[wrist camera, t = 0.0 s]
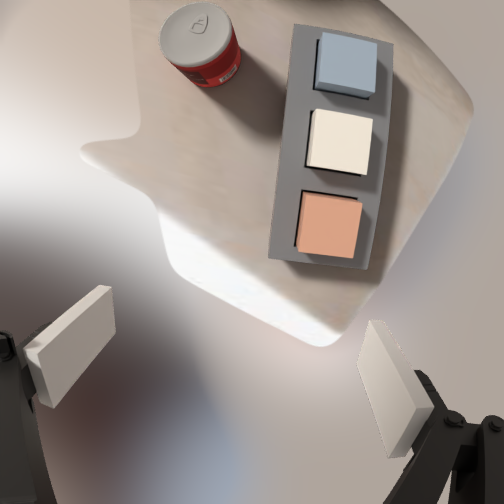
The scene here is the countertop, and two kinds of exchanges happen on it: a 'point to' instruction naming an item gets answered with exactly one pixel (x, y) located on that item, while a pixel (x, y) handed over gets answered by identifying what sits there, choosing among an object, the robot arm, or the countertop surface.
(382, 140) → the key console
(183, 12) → the canned food
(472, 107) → the countertop surface
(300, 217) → the terracotta key
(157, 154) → the countertop surface
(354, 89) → the slate key
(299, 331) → the countertop surface
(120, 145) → the countertop surface
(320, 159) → the ivory key
